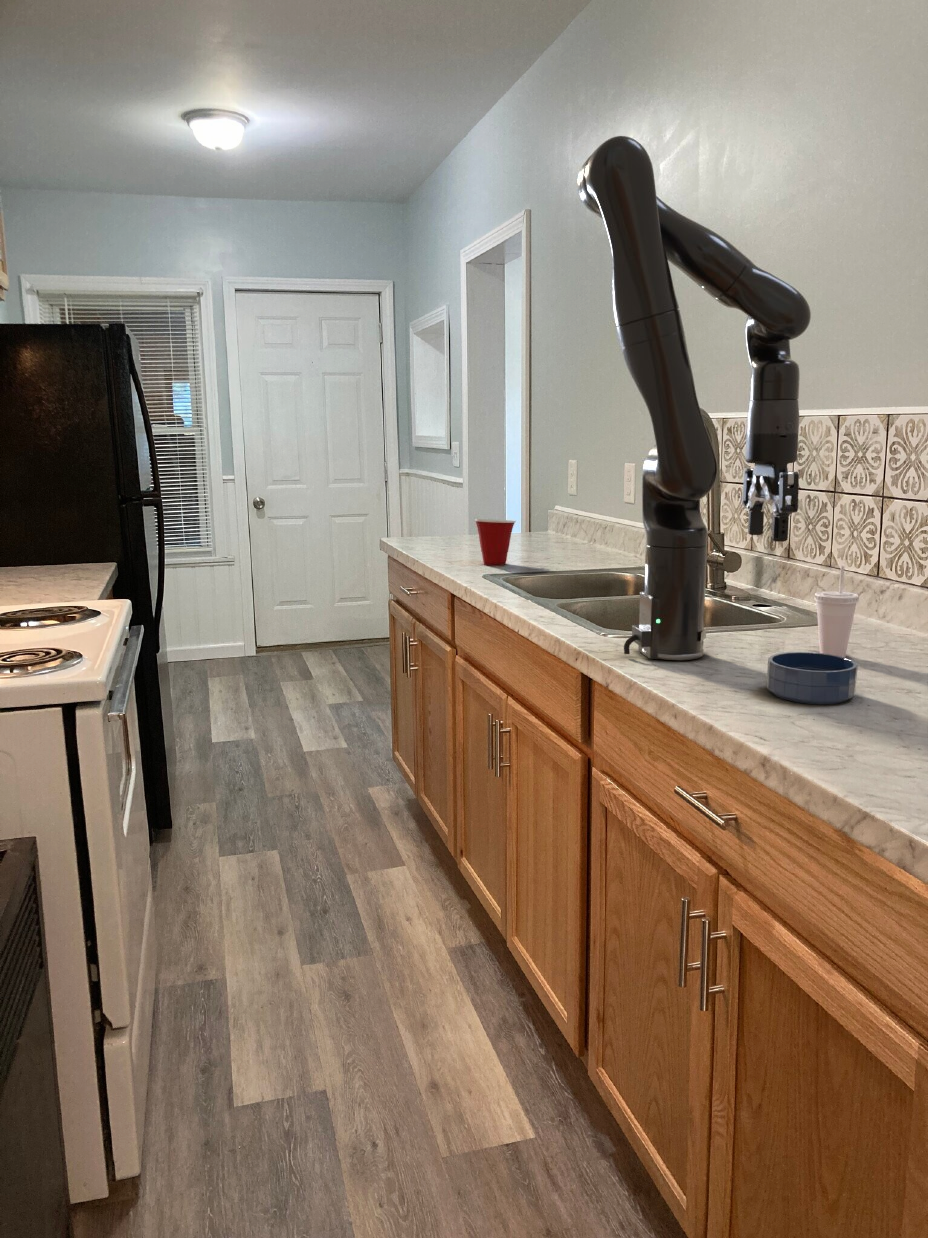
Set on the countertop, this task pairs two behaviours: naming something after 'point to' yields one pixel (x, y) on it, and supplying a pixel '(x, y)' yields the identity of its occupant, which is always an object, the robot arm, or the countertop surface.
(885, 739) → the countertop surface
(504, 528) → the plastic cup
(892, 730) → the countertop surface
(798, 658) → the bowl
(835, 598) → the smoothie
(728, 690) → the countertop surface
